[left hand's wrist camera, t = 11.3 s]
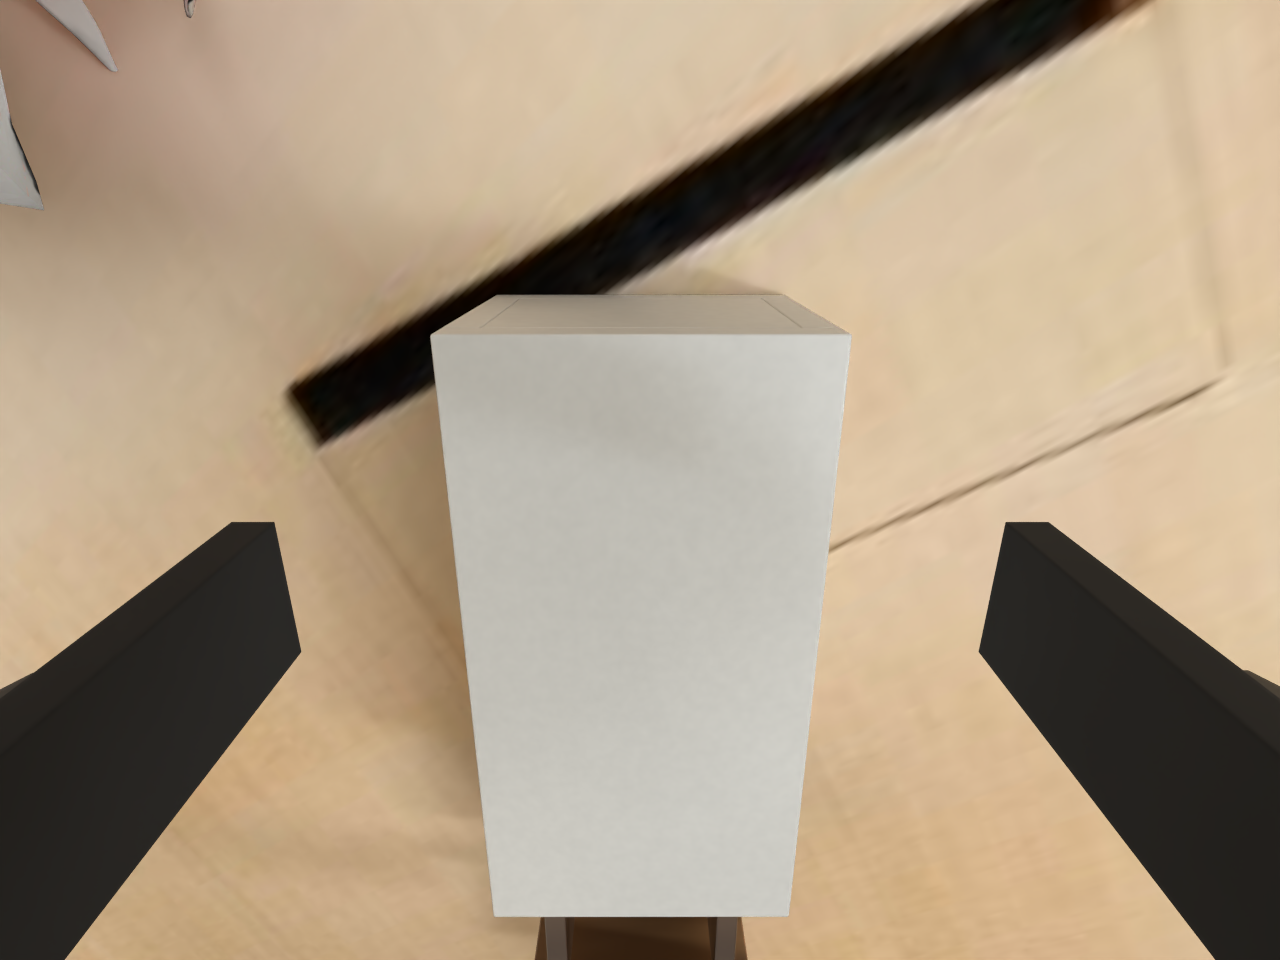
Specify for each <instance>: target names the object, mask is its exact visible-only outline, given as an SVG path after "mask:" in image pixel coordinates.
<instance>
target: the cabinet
mask: <svg viewBox="0 0 1280 960" xmlns="http://www.w3.org/2000/svg"><path fill="white" fill-rule="evenodd" d="M430 338H431V347H432V356H433V365H434V374H435V383H436V392H437V402H438V411H439V420H440V429H441V438H442V447H443V457H444V466H445V475H446V484H447V493H448V502H449V511H450V521H451V530H452V539H453V548H454V557H455V566H456V576H457V585H458V594H459V603H460V612H461V621H462V630H463V640H464V649H465V658H466V667H467V676H468V685H469V695H470V704H471V713H472V722H473V731H474V740H475V749H476V759H477V768H478V777H479V786H480V795H481V804H482V814H483V823H484V832H485V841H486V850H487V859H488V868H489V878H490V887H491V896H492V905H493V914H494V917H788V916H789V909H790V899H791V890H792V881H793V872H794V863H795V853H796V844H797V835H798V826H799V817H800V807H801V798H802V789H803V780H804V771H805V761H806V752H807V743H808V734H809V725H810V716H811V706H812V697H813V688H814V679H815V670H816V660H817V651H818V642H819V633H820V624H821V614H822V605H823V596H824V587H825V578H826V569H827V559H828V550H829V541H830V532H831V523H832V513H833V504H834V495H835V486H836V477H837V467H838V458H839V449H840V440H841V431H842V421H843V412H844V403H845V394H846V385H847V376H848V366H849V357H850V348H851V339H852V335H851V334H850V333H848V332H846V331H845V330H843V329H841V328H840V327H838V326H836V325H834V324H833V323H831V322H829V321H828V320H826V319H824V318H823V317H821V316H819V315H817V314H816V313H814V312H812V311H811V310H809V309H807V308H806V307H804V306H802V305H801V304H799V303H797V302H795V301H794V300H792V299H790V298H789V297H787V296H786V295H496V296H494V297H493V298H491V299H490V300H488V301H486V302H485V303H483V304H481V305H479V306H478V307H476V308H474V309H473V310H471V311H469V312H468V313H466V314H464V315H463V316H461V317H459V318H458V319H456V320H454V321H453V322H451V323H449V324H448V325H446V326H444V327H443V328H441V329H440V330H438V331H436V332H435V333H433V334H431V336H430Z"/></svg>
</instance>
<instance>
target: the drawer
mask: <svg viewBox="0 0 1280 960" xmlns="http://www.w3.org/2000/svg"><path fill="white" fill-rule="evenodd" d="M535 960H747V953H746V946H745V939H744V932H743V925H742V918H741V917H541V919H540V926H539V933H538V940H537V947H536V954H535Z"/></svg>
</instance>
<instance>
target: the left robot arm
mask: <svg viewBox="0 0 1280 960" xmlns="http://www.w3.org/2000/svg"><path fill="white" fill-rule="evenodd" d="M300 653H301V648H300V643H299V639H298V634H297V629H296V624H295V619H294V615H293V610H292V605H291V600H290V595H289V591H288V586H287V581H286V576H285V571H284V567H283V562H282V557H281V552H280V547H279V543H278V538H277V533H276V528H275V523H274V522H231V523H230V524H229V525H227V526H226V527H225V528H223V529H222V530H221V531H219V532H218V533H217V534H215V535H214V536H213V537H211V538H210V539H209V540H208V541H206V542H205V543H204V544H202V545H201V546H200V547H198V548H197V549H196V550H194V551H193V552H192V553H190V554H189V555H188V556H187V557H185V558H184V559H183V560H181V561H180V562H179V563H177V564H176V565H175V566H173V567H172V568H171V569H169V570H168V571H167V572H166V573H164V574H163V575H162V576H160V577H159V578H158V579H156V580H155V581H154V582H152V583H151V584H150V585H148V586H147V587H146V588H145V589H143V590H142V591H141V592H139V593H138V594H137V595H135V596H134V597H133V598H131V599H130V600H129V601H127V602H126V603H125V604H124V605H122V606H121V607H120V608H118V609H117V610H116V611H114V612H113V613H112V614H110V615H109V616H108V617H106V618H105V619H104V620H103V621H101V622H100V623H99V624H97V625H96V626H95V627H93V628H92V629H91V630H89V631H88V632H87V633H85V634H84V635H83V636H82V637H80V638H79V639H78V640H76V641H75V642H74V643H72V644H71V645H70V646H68V647H67V648H66V649H65V650H63V651H62V652H61V653H59V654H58V655H57V656H55V657H54V658H53V659H51V660H50V661H49V662H47V663H46V664H45V665H44V666H42V667H41V668H40V669H38V670H37V671H36V672H34V673H32V674H30V675H28V676H26V677H24V678H22V679H20V680H18V681H16V682H14V683H12V684H10V685H8V686H6V687H4V688H2V689H0V960H65V959H66V957H67V956H68V955H69V953H70V952H71V951H72V950H73V948H74V947H75V946H76V944H77V943H78V942H79V940H80V939H81V938H82V936H83V935H84V934H85V933H86V931H87V930H88V929H89V927H90V926H91V925H92V923H93V922H94V921H95V920H96V918H97V917H98V916H99V914H100V913H101V912H102V910H103V909H104V908H105V907H106V905H107V904H108V903H109V901H110V900H111V899H112V897H113V896H114V895H115V894H116V892H117V891H118V890H119V888H120V887H121V886H122V884H123V883H124V882H125V881H126V879H127V878H128V877H129V875H130V874H131V873H132V871H133V870H134V869H135V868H136V866H137V865H138V864H139V862H140V861H141V860H142V858H143V857H144V856H145V855H146V853H147V852H148V851H149V849H150V848H151V847H152V845H153V844H154V843H155V841H156V840H157V839H158V838H159V836H160V835H161V834H162V832H163V831H164V830H165V828H166V827H167V826H168V825H169V823H170V822H171V821H172V819H173V818H174V817H175V815H176V814H177V813H178V812H179V810H180V809H181V808H182V806H183V805H184V804H185V802H186V801H187V800H188V799H189V797H190V796H191V795H192V793H193V792H194V791H195V789H196V788H197V787H198V786H199V784H200V783H201V782H202V780H203V779H204V778H205V776H206V775H207V774H208V773H209V771H210V770H211V769H212V767H213V766H214V765H215V763H216V762H217V761H218V760H219V758H220V757H221V756H222V754H223V753H224V752H225V750H226V749H227V748H228V746H229V745H230V744H231V743H232V741H233V740H234V739H235V737H236V736H237V735H238V733H239V732H240V731H241V730H242V728H243V727H244V726H245V724H246V723H247V722H248V720H249V719H250V718H251V717H252V715H253V714H254V713H255V711H256V710H257V709H258V707H259V706H260V705H261V704H262V702H263V701H264V700H265V698H266V697H267V696H268V694H269V693H270V692H271V691H272V689H273V688H274V687H275V685H276V684H277V683H278V681H279V680H280V679H281V678H282V676H283V675H284V674H285V672H286V671H287V670H288V668H289V667H290V666H291V665H292V663H293V662H294V661H295V659H296V658H297V657H298V655H299V654H300ZM979 653H980V654H981V655H982V657H983V658H984V659H985V661H986V662H987V663H988V665H989V666H990V667H991V668H992V670H993V671H994V672H995V674H996V675H997V676H998V678H999V679H1000V680H1001V681H1002V683H1003V684H1004V685H1005V687H1006V688H1007V689H1008V691H1009V692H1010V693H1011V694H1012V696H1013V697H1014V698H1015V700H1016V701H1017V702H1018V704H1019V705H1020V706H1021V707H1022V709H1023V710H1024V711H1025V713H1026V714H1027V715H1028V717H1029V718H1030V719H1031V720H1032V722H1033V723H1034V724H1035V726H1036V727H1037V728H1038V730H1039V731H1040V732H1041V733H1042V735H1043V736H1044V737H1045V739H1046V740H1047V741H1048V743H1049V744H1050V745H1051V746H1052V748H1053V749H1054V750H1055V752H1056V753H1057V754H1058V756H1059V757H1060V758H1061V760H1062V761H1063V762H1064V763H1065V765H1066V766H1067V767H1068V769H1069V770H1070V771H1071V773H1072V774H1073V775H1074V776H1075V778H1076V779H1077V780H1078V782H1079V783H1080V784H1081V786H1082V787H1083V788H1084V789H1085V791H1086V792H1087V793H1088V795H1089V796H1090V797H1091V799H1092V800H1093V801H1094V802H1095V804H1096V805H1097V806H1098V808H1099V809H1100V810H1101V812H1102V813H1103V814H1104V815H1105V817H1106V818H1107V819H1108V821H1109V822H1110V823H1111V825H1112V826H1113V827H1114V828H1115V830H1116V831H1117V832H1118V834H1119V835H1120V836H1121V838H1122V839H1123V840H1124V841H1125V843H1126V844H1127V845H1128V847H1129V848H1130V849H1131V851H1132V852H1133V853H1134V855H1135V856H1136V857H1137V858H1138V860H1139V861H1140V862H1141V864H1142V865H1143V866H1144V868H1145V869H1146V870H1147V871H1148V873H1149V874H1150V875H1151V877H1152V878H1153V879H1154V881H1155V882H1156V883H1157V884H1158V886H1159V887H1160V888H1161V890H1162V891H1163V892H1164V894H1165V895H1166V896H1167V897H1168V899H1169V900H1170V901H1171V903H1172V904H1173V905H1174V907H1175V908H1176V909H1177V910H1178V912H1179V913H1180V914H1181V916H1182V917H1183V918H1184V920H1185V921H1186V922H1187V923H1188V925H1189V926H1190V927H1191V929H1192V930H1193V931H1194V933H1195V934H1196V935H1197V936H1198V938H1199V939H1200V940H1201V942H1202V943H1203V944H1204V946H1205V947H1206V948H1207V950H1208V951H1209V952H1210V953H1211V955H1212V956H1213V957H1214V959H1215V960H1280V686H1278V685H1276V684H1274V683H1272V682H1270V681H1268V680H1266V679H1264V678H1262V677H1260V676H1258V675H1256V674H1254V673H1252V672H1250V671H1248V670H1242V669H1240V668H1239V667H1238V666H1236V665H1235V664H1234V663H1233V662H1231V661H1230V660H1229V659H1227V658H1226V657H1225V656H1223V655H1222V654H1221V653H1219V652H1218V651H1217V650H1215V649H1214V648H1213V647H1212V646H1210V645H1209V644H1208V643H1206V642H1205V641H1204V640H1202V639H1201V638H1200V637H1198V636H1197V635H1196V634H1194V633H1193V632H1192V631H1191V630H1189V629H1188V628H1187V627H1185V626H1184V625H1183V624H1181V623H1180V622H1179V621H1177V620H1176V619H1175V618H1174V617H1172V616H1171V615H1170V614H1168V613H1167V612H1166V611H1164V610H1163V609H1162V608H1160V607H1159V606H1158V605H1156V604H1155V603H1154V602H1153V601H1151V600H1150V599H1149V598H1147V597H1146V596H1145V595H1143V594H1142V593H1141V592H1139V591H1138V590H1137V589H1135V588H1134V587H1133V586H1132V585H1130V584H1129V583H1128V582H1126V581H1125V580H1124V579H1122V578H1121V577H1120V576H1118V575H1117V574H1116V573H1114V572H1113V571H1112V570H1111V569H1109V568H1108V567H1107V566H1105V565H1104V564H1103V563H1101V562H1100V561H1099V560H1097V559H1096V558H1095V557H1093V556H1092V555H1091V554H1090V553H1088V552H1087V551H1086V550H1084V549H1083V548H1082V547H1080V546H1079V545H1078V544H1076V543H1075V542H1074V541H1072V540H1071V539H1070V538H1069V537H1067V536H1066V535H1065V534H1063V533H1062V532H1061V531H1059V530H1058V529H1057V528H1055V527H1054V526H1053V525H1051V524H1050V523H1049V522H1006V523H1005V528H1004V533H1003V538H1002V543H1001V547H1000V552H999V557H998V562H997V567H996V571H995V576H994V581H993V586H992V591H991V595H990V600H989V605H988V610H987V615H986V619H985V624H984V629H983V634H982V638H981V643H980V648H979Z"/></svg>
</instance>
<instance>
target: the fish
mask: <svg viewBox="0 0 1280 960" xmlns="http://www.w3.org/2000/svg"><path fill="white" fill-rule="evenodd" d="M36 1H37V2H38V3H39V4H40V5H41V6H42V7H43V8H44V9H45V10H47V11H48V12H49V13H50V14H51V15H52V16H53V17H55V18H56V19H57V20H58V21H59V22H60V23H61V24H62V25H64V26H65V27H66V28H67V29H68V30H69V31H70V32H71V33H72V34H73V35H74V36H75V37H77V38H78V39H79V40H80V41H81V42H82V43H83V44H84V45H85V46H86V47H87V48H88V49H89V50H90V51H91V52H92V53H93V54H94V55H95V56H96V57H97V58H98V59H99V60H100V61H101V62H102V63H103V64H104V65H105V66H106V67H107V68H108V69H109V70H110V71H114V72H116V71H118V69H117V67H116V65H115V63H114V61H113V58H112V56H111V54H110V52H109V50H108V47H107V45H106V43H105V41H104V38H103V36H102V34H101V32H100V30H99V28H98V26H97V24H96V22H95V20H94V18H93V17H92V15H91V13H90V12H89V10H88V9H87V7H86V5H85V4H84V2H83V1H82V0H36ZM195 1H196V0H184V7H185V12H186V15H187V17H189V18H191V16H192V14H193V12H194V6H195ZM0 204H7V205H14V206H20V207H27V208H33V209H40V210H44V208H43V204H42V200H41V197H40V193H39V190H38V186H37V182H36V180H35V177H34V175H33V173H32V170H31V168H30V166H29V163H28V161H27V159H26V156H25V154H24V151H23V149H22V147H21V144H20V142H19V140H18V137H17V135H16V132H15V130H14V128H13V125H12V122H11V117H10V112H9V108H8V103H7V98H6V94H5V89H4V84H3V80H2V75H1V70H0Z"/></svg>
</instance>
